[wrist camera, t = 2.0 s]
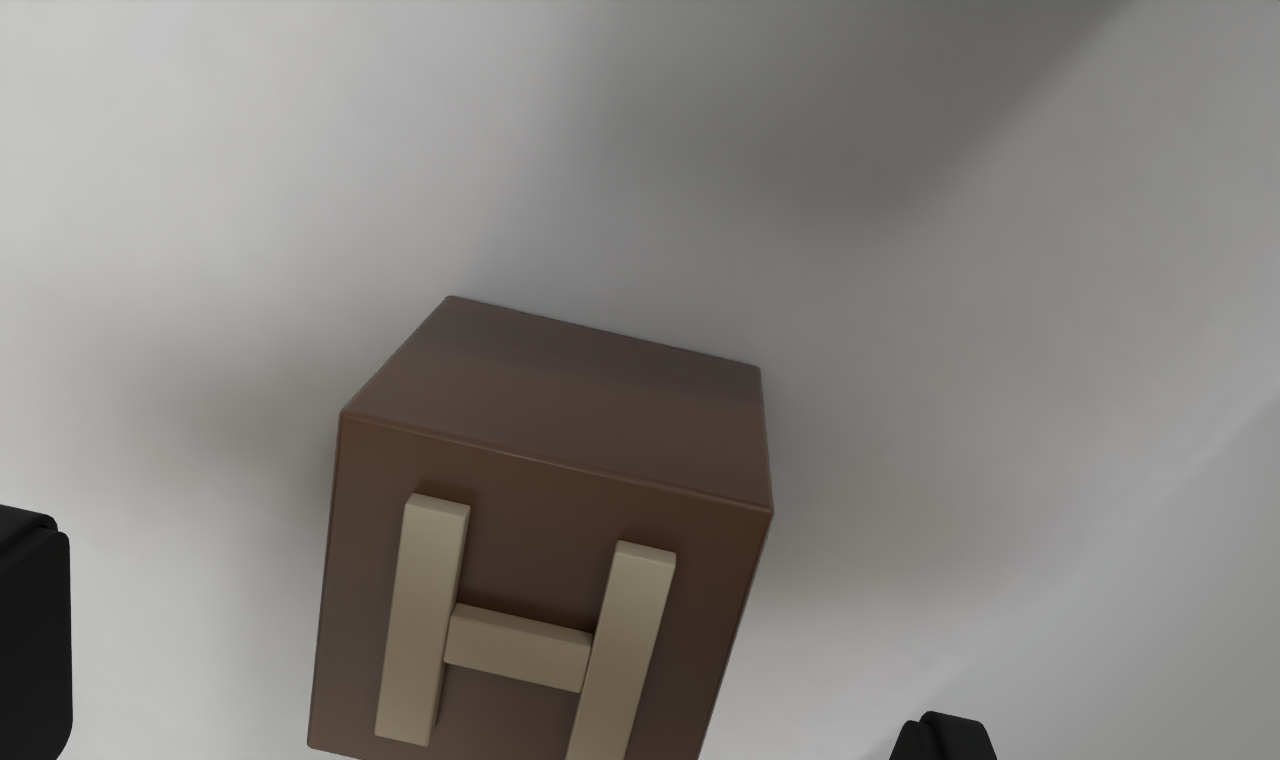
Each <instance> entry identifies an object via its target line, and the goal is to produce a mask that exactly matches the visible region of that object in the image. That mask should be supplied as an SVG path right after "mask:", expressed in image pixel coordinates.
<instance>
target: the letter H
mask: <svg viewBox="0 0 1280 760" xmlns="http://www.w3.org/2000/svg"><path fill="white" fill-rule="evenodd" d="M773 516H774V505H773V495H772V484H771V474H770V464H769V454H768V444H767V434H766V423H765V413H764V403H763V393H762V383H761V373H760V369H759V368H758V367H757V366H752V365H748V364H744V363H739V362H735V361H731V360H726V359H722V358H718V357H713V356H709V355H705V354H700V353H696V352H692V351H687V350H683V349H679V348H674V347H670V346H665V345H661V344H657V343H652V342H648V341H644V340H639V339H635V338H631V337H626V336H622V335H618V334H613V333H609V332H605V331H600V330H596V329H592V328H587V327H583V326H579V325H574V324H570V323H566V322H561V321H557V320H552V319H548V318H544V317H539V316H535V315H531V314H526V313H522V312H518V311H513V310H509V309H505V308H500V307H496V306H492V305H487V304H483V303H479V302H474V301H470V300H466V299H461V298H457V297H453V296H448V297H446V298H445V299H444V300H443V301H442V302H441V303H440V304H439V306H438V307H437V308H436V309H435V310H434V311H433V312H432V313H431V314H430V315H429V316H428V317H427V318H426V320H425V321H424V322H423V323H422V324H421V325H420V326H419V327H418V328H417V329H416V330H415V331H414V332H413V334H412V335H411V336H410V337H409V338H408V339H407V340H406V341H405V342H404V343H403V344H402V345H401V346H400V348H399V349H398V350H397V351H396V352H395V353H394V354H393V355H392V356H391V357H390V358H389V359H388V360H387V362H386V363H385V364H384V365H383V366H382V367H381V368H380V369H379V370H378V371H377V372H376V373H375V374H374V376H373V377H372V378H371V379H370V380H369V381H368V382H367V383H366V384H365V385H364V386H363V387H362V388H361V389H360V391H359V392H358V393H357V394H356V395H355V396H354V397H353V398H352V399H351V400H350V401H349V402H348V403H347V405H346V406H345V407H344V408H343V409H342V410H341V412H340V413H339V422H338V432H337V442H336V452H335V462H334V472H333V482H332V492H331V502H330V513H329V523H328V533H327V543H326V553H325V563H324V573H323V583H322V593H321V603H320V614H319V624H318V634H317V644H316V654H315V664H314V674H313V684H312V694H311V705H310V715H309V725H308V735H307V745H308V746H309V747H310V748H312V749H317V750H321V751H326V752H330V753H334V754H339V755H343V756H348V757H352V758H356V759H361V760H698V758H699V755H700V752H701V749H702V745H703V742H704V739H705V736H706V732H707V729H708V726H709V723H710V720H711V716H712V713H713V710H714V707H715V703H716V700H717V697H718V694H719V691H720V687H721V684H722V681H723V678H724V674H725V671H726V668H727V665H728V662H729V658H730V655H731V652H732V649H733V645H734V642H735V639H736V636H737V632H738V629H739V626H740V623H741V620H742V616H743V613H744V610H745V607H746V603H747V600H748V597H749V594H750V591H751V587H752V584H753V581H754V578H755V574H756V571H757V568H758V565H759V562H760V558H761V555H762V552H763V549H764V545H765V542H766V539H767V536H768V533H769V529H770V526H771V523H772V520H773Z"/></svg>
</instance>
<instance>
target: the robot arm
mask: <svg viewBox="0 0 1280 760" xmlns="http://www.w3.org/2000/svg"><path fill="white" fill-rule="evenodd" d="M72 722H73V706H72V650H71V594H70V545H69V539H68V537H67V535H66V534H64V533H63V532H59V531H58V528H57V523H56V522H55V520H54V518H53V517H51V516H49V515H46V514H42V513H37V512H33V511H28V510H23V509H19V508H14V507H10V506H5V505H1V504H0V760H56V759H57V758H58V756H59V755H60V754H61V752H62V751H63V749H64V747H65V745H66V743H67V741H68V739H69V736H70V733H71V729H72ZM889 760H997V757H996V755H995V752H994V749H993V747H992V744H991V742H990V739H989V736H988V734H987V731H986V729H985V728H984V726H983V725H982V724H981V723H980V722H978V721H974V720H970V719H965V718H961V717H956V716H952V715H947V714H943V713H938V712H934V711H927V712H926V713H925V714H924V715H923V716H922V717H921V719H920V721H919V722H916V721H912V720H909V721H907V722H906V723H905V724H904V725H903V727H902V729H901V732H900V734H899V737H898V739H897V742H896V744H895V747H894V749H893V751H892V754H891V756H890V759H889Z"/></svg>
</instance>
